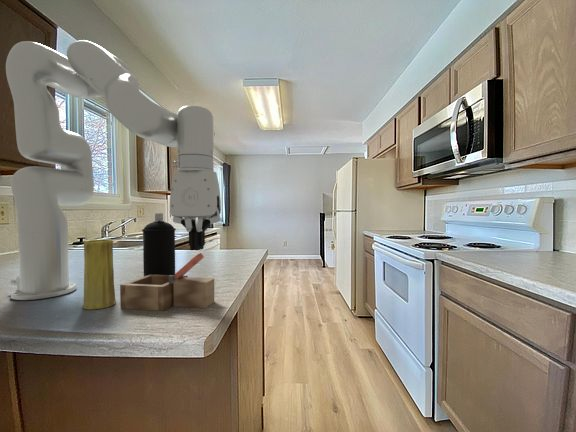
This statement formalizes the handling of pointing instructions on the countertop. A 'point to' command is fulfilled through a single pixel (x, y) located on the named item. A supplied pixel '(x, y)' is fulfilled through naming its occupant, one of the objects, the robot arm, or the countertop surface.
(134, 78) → the robot arm
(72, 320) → the countertop surface
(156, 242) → the aerosol can
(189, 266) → the keeper bar
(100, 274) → the vase
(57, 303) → the countertop surface
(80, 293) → the countertop surface
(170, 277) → the block
